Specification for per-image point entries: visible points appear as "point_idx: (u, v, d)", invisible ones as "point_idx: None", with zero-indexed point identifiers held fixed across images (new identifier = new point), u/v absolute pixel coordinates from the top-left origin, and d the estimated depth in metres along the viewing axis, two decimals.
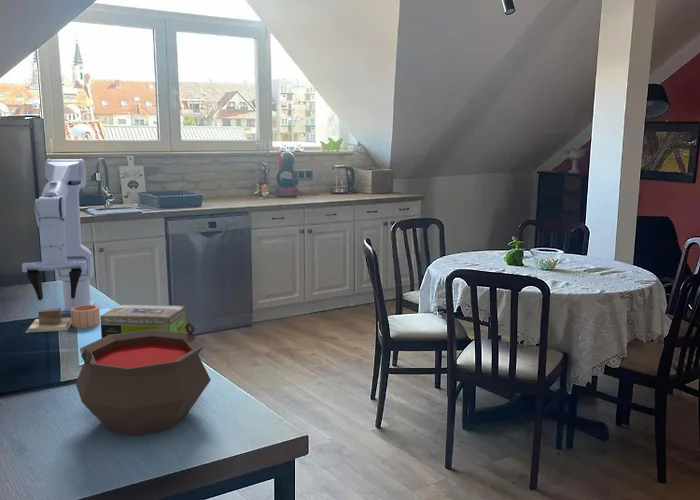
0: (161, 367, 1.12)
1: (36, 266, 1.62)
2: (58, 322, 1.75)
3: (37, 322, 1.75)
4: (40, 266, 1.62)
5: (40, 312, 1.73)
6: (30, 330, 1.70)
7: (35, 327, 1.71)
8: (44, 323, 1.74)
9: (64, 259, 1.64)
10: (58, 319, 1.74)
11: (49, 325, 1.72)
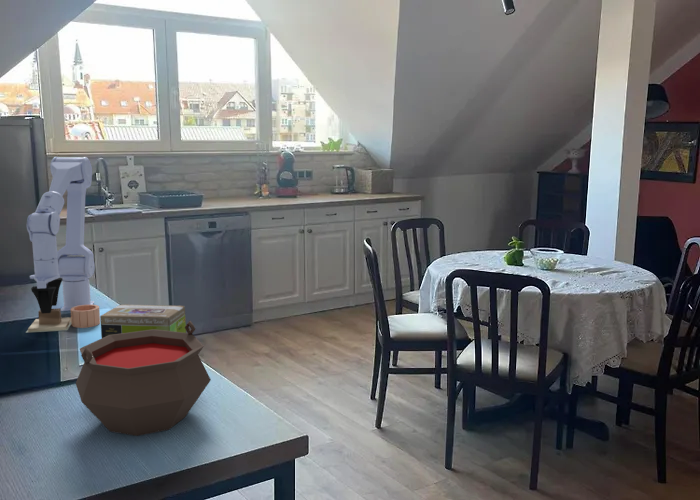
0: (161, 367, 1.12)
1: None
2: (58, 322, 1.75)
3: (37, 322, 1.75)
4: None
5: (40, 312, 1.73)
6: (30, 330, 1.70)
7: (35, 327, 1.71)
8: (44, 323, 1.74)
9: (39, 273, 1.70)
10: (58, 319, 1.74)
11: (49, 325, 1.72)
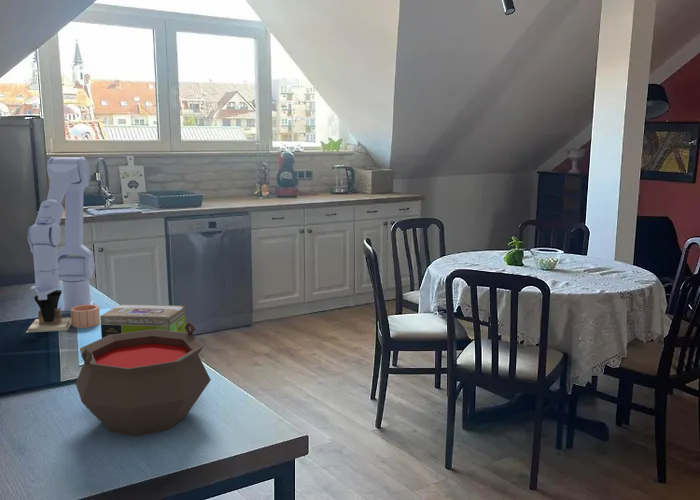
0: (161, 367, 1.12)
1: None
2: (58, 322, 1.75)
3: (37, 322, 1.75)
4: None
5: (40, 312, 1.73)
6: (30, 330, 1.70)
7: (35, 327, 1.71)
8: (44, 323, 1.74)
9: (40, 284, 1.71)
10: (58, 319, 1.74)
11: (49, 325, 1.72)
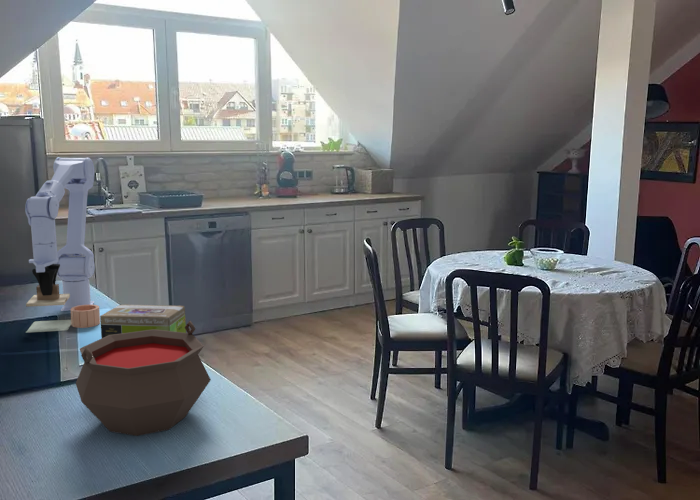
0: (161, 367, 1.12)
1: None
2: (56, 298, 1.73)
3: (35, 298, 1.74)
4: None
5: (38, 287, 1.72)
6: (28, 305, 1.69)
7: (33, 302, 1.70)
8: (42, 298, 1.73)
9: (38, 257, 1.69)
10: (56, 295, 1.73)
11: (47, 301, 1.71)
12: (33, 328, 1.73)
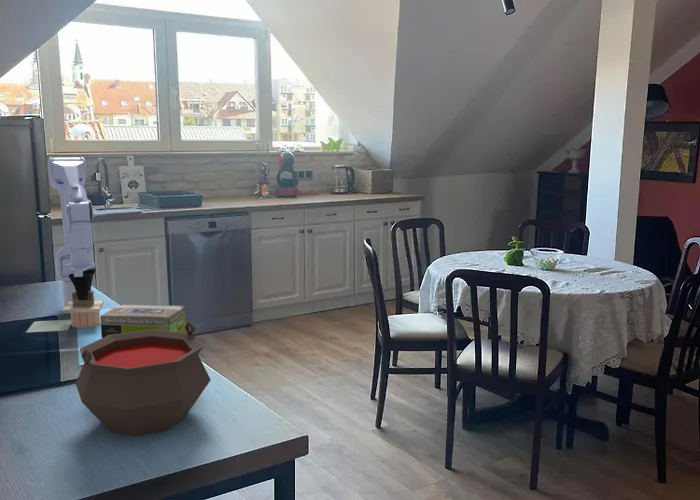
0: (161, 367, 1.12)
1: None
2: (91, 304, 1.76)
3: (70, 304, 1.77)
4: None
5: (74, 294, 1.74)
6: (64, 312, 1.71)
7: (69, 309, 1.72)
8: (78, 305, 1.75)
9: (75, 262, 1.72)
10: (91, 301, 1.76)
11: (82, 307, 1.74)
12: (33, 328, 1.73)
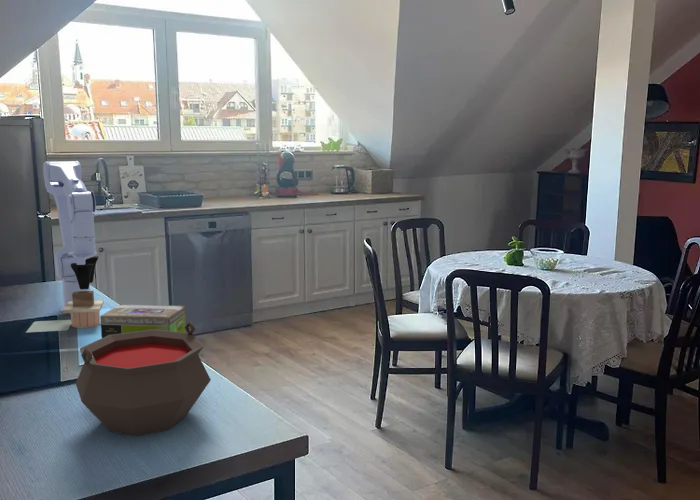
0: (161, 367, 1.12)
1: None
2: (91, 304, 1.76)
3: (70, 304, 1.77)
4: None
5: (74, 294, 1.74)
6: (64, 312, 1.71)
7: (69, 309, 1.72)
8: (78, 305, 1.75)
9: (78, 251, 1.76)
10: (91, 301, 1.76)
11: (82, 307, 1.74)
12: (33, 328, 1.73)
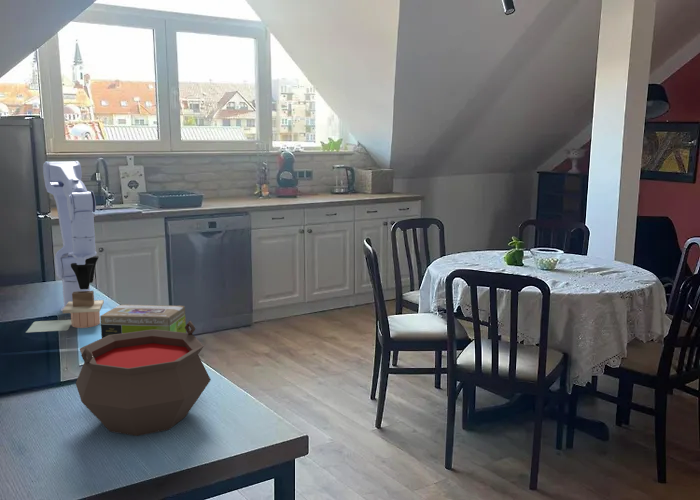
0: (161, 367, 1.12)
1: None
2: (91, 304, 1.76)
3: (70, 304, 1.77)
4: None
5: (74, 294, 1.74)
6: (64, 312, 1.71)
7: (69, 309, 1.72)
8: (78, 305, 1.75)
9: (78, 251, 1.76)
10: (91, 301, 1.76)
11: (82, 307, 1.74)
12: (33, 328, 1.73)
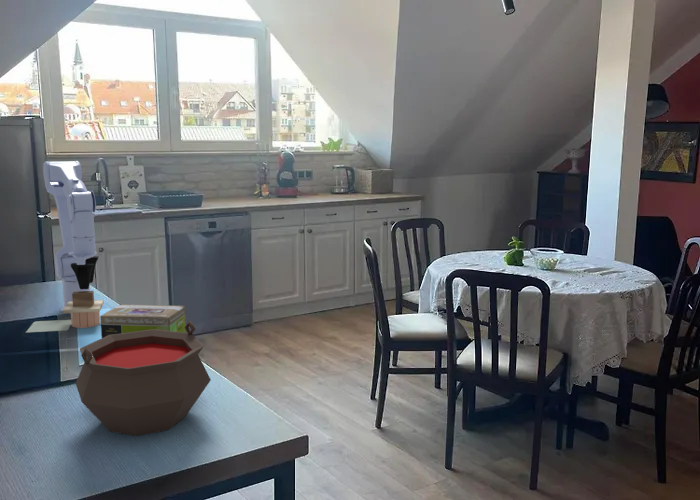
0: (161, 367, 1.12)
1: None
2: (91, 304, 1.76)
3: (70, 304, 1.77)
4: None
5: (74, 294, 1.74)
6: (64, 312, 1.71)
7: (69, 309, 1.72)
8: (78, 305, 1.75)
9: (78, 251, 1.76)
10: (91, 301, 1.76)
11: (82, 307, 1.74)
12: (33, 328, 1.73)
